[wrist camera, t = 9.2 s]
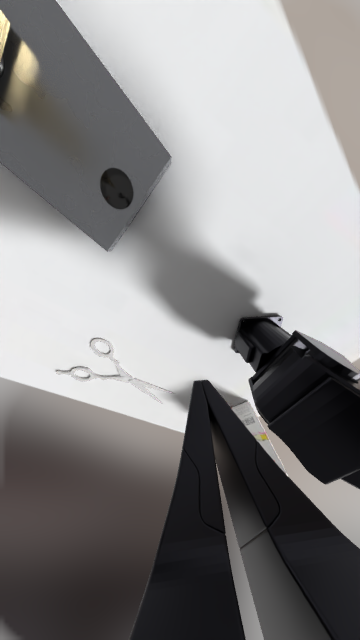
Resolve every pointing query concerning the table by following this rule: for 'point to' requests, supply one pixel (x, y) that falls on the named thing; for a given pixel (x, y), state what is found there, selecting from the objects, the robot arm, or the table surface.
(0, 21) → the gold tapered block
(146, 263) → the table surface
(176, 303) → the table surface
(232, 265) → the table surface
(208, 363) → the table surface
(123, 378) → the scissors
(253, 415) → the ink cartridge box
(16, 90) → the bolt plate
